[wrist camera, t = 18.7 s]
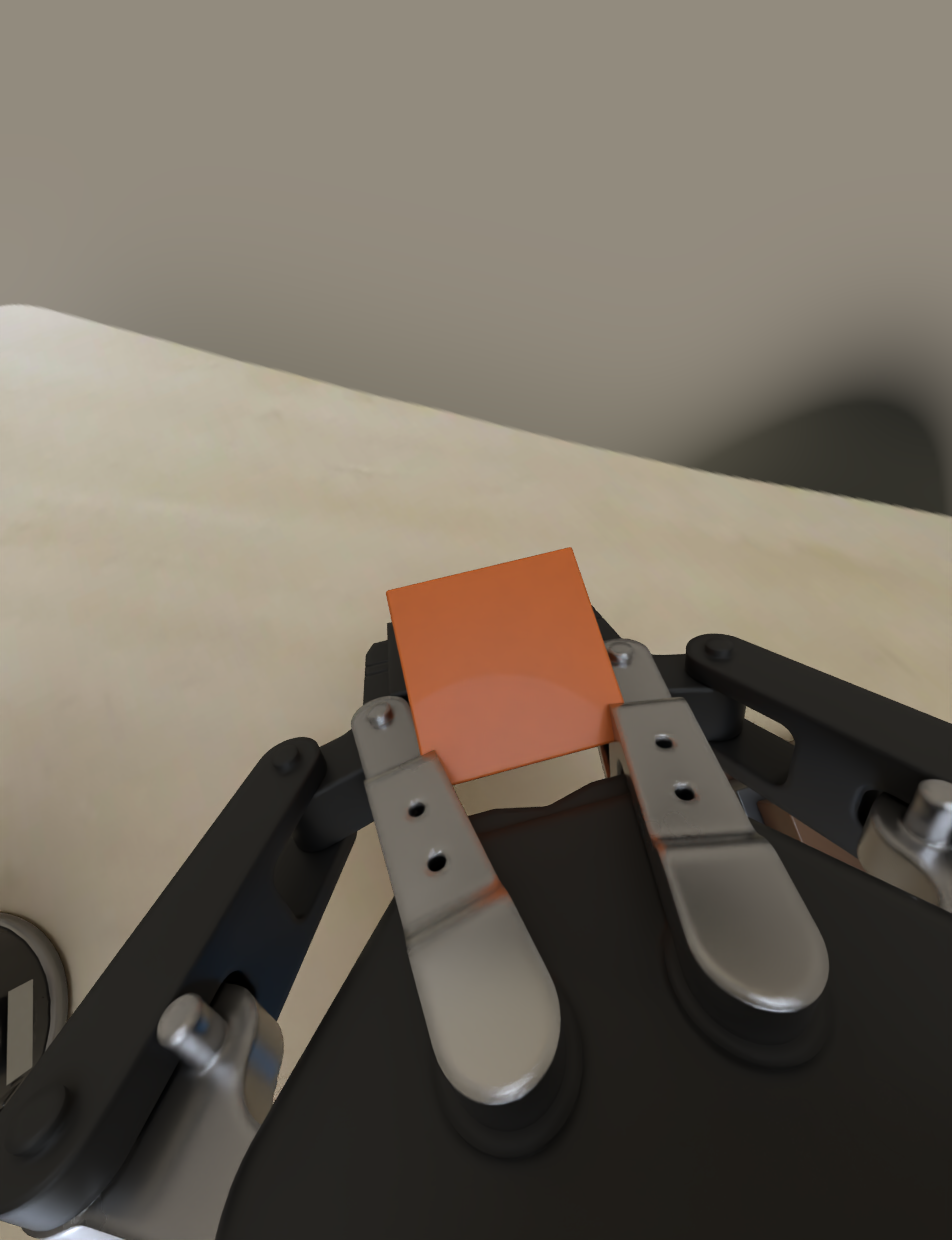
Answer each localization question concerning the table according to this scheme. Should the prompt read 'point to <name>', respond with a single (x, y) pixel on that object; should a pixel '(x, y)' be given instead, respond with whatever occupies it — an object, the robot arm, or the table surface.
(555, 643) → the bar
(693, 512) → the table surface
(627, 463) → the table surface
